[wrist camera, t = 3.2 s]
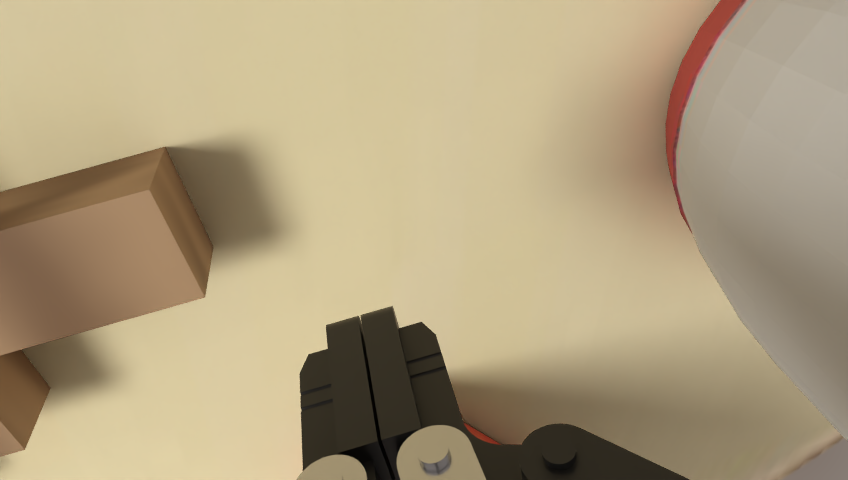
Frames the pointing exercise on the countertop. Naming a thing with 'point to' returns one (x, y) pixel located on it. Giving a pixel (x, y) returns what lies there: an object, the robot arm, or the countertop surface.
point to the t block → (89, 265)
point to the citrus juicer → (772, 179)
